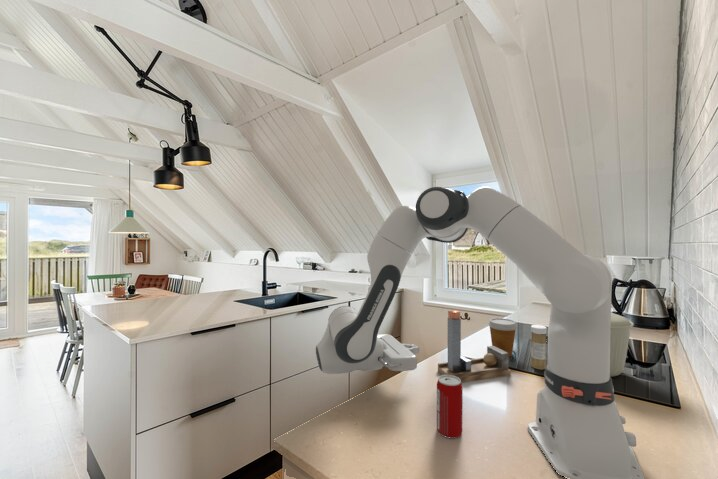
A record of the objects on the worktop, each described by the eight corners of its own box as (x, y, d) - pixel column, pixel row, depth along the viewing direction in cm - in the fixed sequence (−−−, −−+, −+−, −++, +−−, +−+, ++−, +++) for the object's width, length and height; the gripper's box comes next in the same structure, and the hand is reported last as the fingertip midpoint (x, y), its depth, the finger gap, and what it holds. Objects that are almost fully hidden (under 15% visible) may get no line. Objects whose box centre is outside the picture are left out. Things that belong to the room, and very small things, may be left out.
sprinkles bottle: (534, 363, 111) (534, 323, 111) (548, 367, 108) (549, 326, 107) (528, 366, 108) (528, 326, 108) (542, 371, 105) (543, 329, 104)
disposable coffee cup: (523, 356, 117) (523, 323, 117) (502, 360, 113) (502, 326, 113) (502, 348, 126) (502, 316, 125) (482, 351, 122) (482, 319, 122)
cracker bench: (453, 383, 96) (453, 361, 96) (437, 371, 105) (437, 350, 105) (510, 375, 102) (510, 354, 102) (491, 364, 111) (491, 344, 110)
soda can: (467, 437, 71) (467, 382, 71) (444, 441, 70) (444, 385, 69) (453, 423, 76) (453, 371, 76) (432, 426, 75) (432, 374, 75)
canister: (589, 383, 96) (589, 311, 96) (550, 359, 114) (551, 298, 114) (649, 382, 97) (650, 310, 96) (602, 358, 115) (602, 298, 114)
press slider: (454, 375, 98) (454, 314, 98) (443, 366, 104) (443, 309, 104) (471, 372, 100) (471, 313, 99) (459, 364, 106) (459, 308, 105)
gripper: (386, 355, 84) (434, 350, 88) (362, 331, 104) (403, 328, 108) (385, 380, 84) (434, 373, 88) (362, 351, 104) (403, 347, 108)
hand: (417, 348), depth 98 cm, fingers closed
